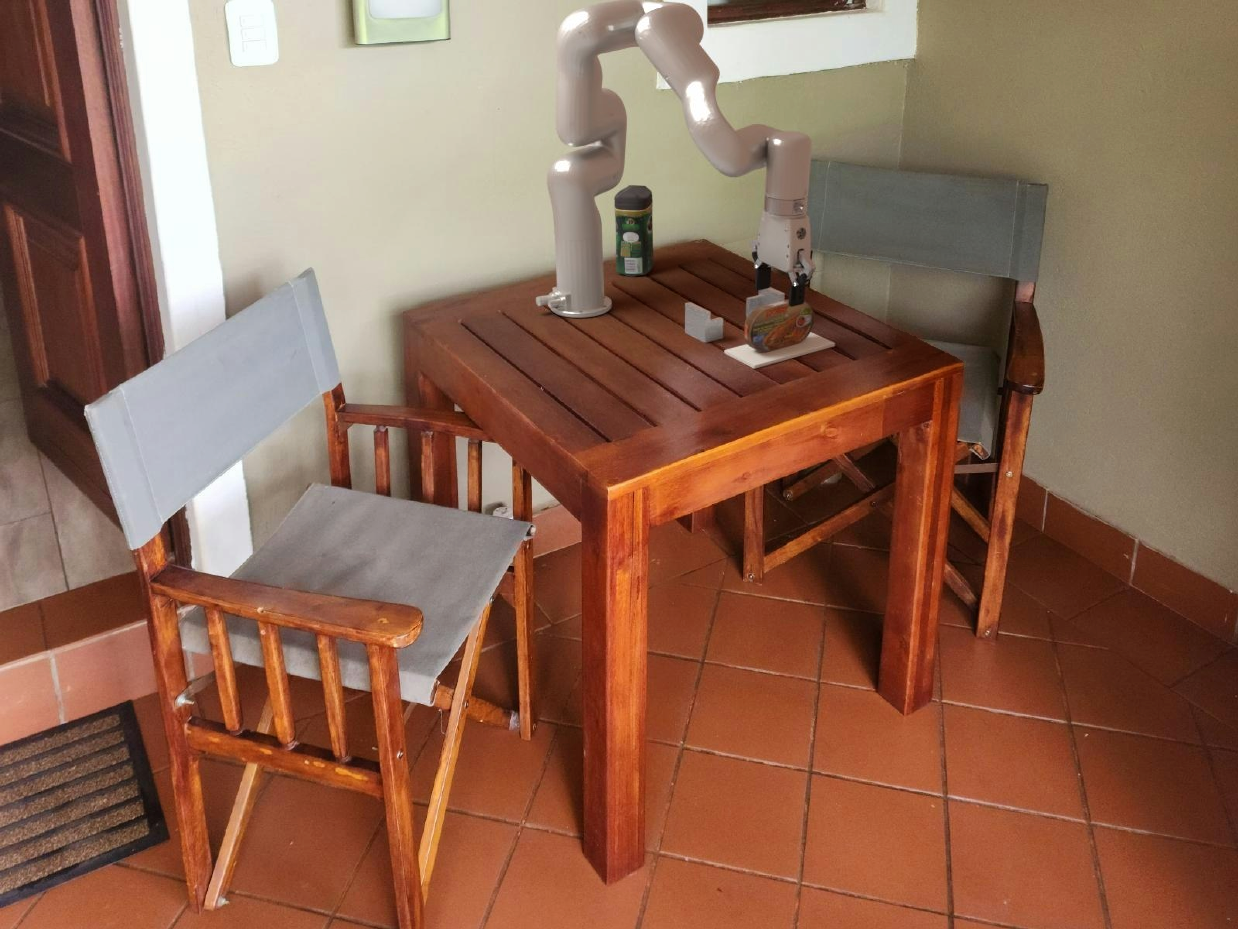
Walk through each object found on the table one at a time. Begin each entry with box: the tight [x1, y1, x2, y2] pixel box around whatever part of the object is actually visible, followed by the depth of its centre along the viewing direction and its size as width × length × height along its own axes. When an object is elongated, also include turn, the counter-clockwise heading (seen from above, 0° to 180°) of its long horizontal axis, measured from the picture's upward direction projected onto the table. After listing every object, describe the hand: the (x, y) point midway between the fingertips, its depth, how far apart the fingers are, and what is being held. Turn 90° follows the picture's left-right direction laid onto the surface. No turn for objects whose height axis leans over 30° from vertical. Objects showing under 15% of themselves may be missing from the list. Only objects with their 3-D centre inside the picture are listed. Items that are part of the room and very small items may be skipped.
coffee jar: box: [613, 184, 655, 277], centre depth 258 cm, size 10×8×19 cm
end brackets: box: [684, 286, 785, 344], centre depth 228 cm, size 7×19×6 cm, turn 122°
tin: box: [743, 298, 815, 353], centre depth 217 cm, size 15×3×8 cm, turn 121°
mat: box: [723, 331, 836, 369], centre depth 219 cm, size 19×9×1 cm, turn 122°
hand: (778, 296), depth 215 cm, fingers open, 9 cm apart
